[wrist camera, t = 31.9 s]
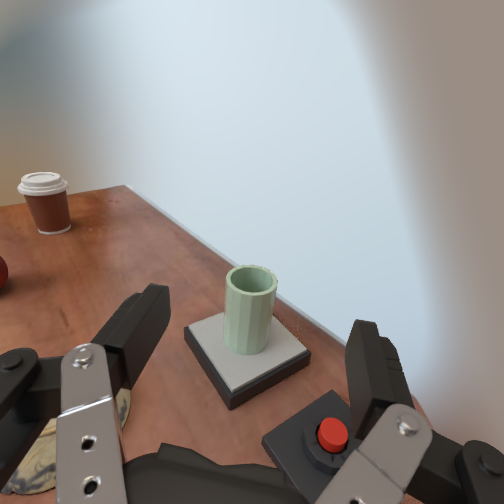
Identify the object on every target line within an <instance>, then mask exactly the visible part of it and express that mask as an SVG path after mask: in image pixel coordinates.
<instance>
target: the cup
mask: <svg viewBox="0 0 504 504" xmlns="http://www.w3.org/2000/svg"><path fill="white" fill-rule="evenodd" d="M277 283H278V280H277V278H276V276H275V274H273V273H272V272H271V271H270V270H268V269H266V268H263V267H261V266H255V265H242V266H238V267H235V268H233V269H232V270H231V271H229V272H228V274H227V276H226V286H225V306H224V326H223V339H224V342H225V344H226V346H227V347H228V348H229V349H230V350H232V351H233V352H235V353H238V354H242V355H253V354H257V353H259V352H261V351H262V350H263V349H264V348H265V347H266V346H267V344H268V340H269V334H270V328H271V321H272V315H273V309H274V302H275V296H276V290H277Z"/></svg>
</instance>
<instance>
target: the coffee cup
mask: <svg viewBox="0 0 504 504" xmlns="http://www.w3.org/2000/svg"><path fill="white" fill-rule="evenodd" d="M21 181H22V182H21V184H19V186H18V191H19V192H20V193H21V194H24V197H25V199H26V201H27V204H28V206H29V209H30V211H31V213H32V216H33V218H34V221H35V223H36V226H37V228H38V231H39V232H40V233H42V234H46V235H53V234H59V233H63V232H65V231H68V230H69V229H70V228H71V224H70V217H69V210H68V202H67V195H66V189H68V183H67V182H66V181H65V180H63V179H61V176H60V175H59V174H57V173H52V172H39V173H32V174H28V175H25V176H24V177H22V179H21Z"/></svg>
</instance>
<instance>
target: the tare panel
mask: <svg viewBox="0 0 504 504" xmlns="http://www.w3.org/2000/svg"><path fill="white" fill-rule="evenodd" d="M326 418H336V419H338V420H339V421H341V422H342V423H343V424H344V425H345V427H346V429H347V431H348V439H347V441H346V444H345V446H344V448H343V449H342V451H340V452H338V453H331V452H329V451H327V450H325V449H324V448H323V447H322V446H321V444H320V442H319V440H318V431H319V428H320V425H321V423H322V421H323V420H324V419H326ZM363 441H364V440H359V439H354V432H353V424H352V415H351V408H350V407H349V406H348V405H347V404H346V403H345V402H344V401H343V400H342V399H341V398H340V397H339V396H338V395H337V394H336V393H335V392H334V391H333V390H330V391H329V392H328V393H326V394H325V395H323V396H322V397H320V398H319V399H317V400H316V401H314V402H313V403H311V404H310V405H308V406H307V407H306V408H304V409H303V410H301V411H300V412H298V413H297V414H295V415H294V416H292V417H291V418H289V419H288V420H286V421H285V422H283V423H282V424H281V425H279V426H278V427H276V428H275V429H273V430H272V431H270V432H269V433H267V434H266V435H264V436H263V437H262V443H261V444H262V445H263V447H264V448H265V450H266V451H267V453H268V454H269V456H270V457H271V459H272V460H273V462H274V463H275V465H276V466H277V468H278V469H281V470H285V471H286V482H288V483H290V484H291V485H293V486H294V487H295V488H297V489H298V490H299V491H300V492H301V493H302V494H303V495H305V496H306V498H307V499H308V500H309V501H310V502H311V504H314V503H315V502H316V501H317V499H318V498H319V497H320V495H321V494H322V493H323V491H324V490H325V488H326V487H327V486H328V484H329V483H330V482H331V480H332V479H333V478H334V476H335V475H336V474H337V472H338V471H339V470H340V468H341V467H342V466H343V464H344V463H345V462H346V460H347V459H348V457H349V456H350V455H351V453H352V452H353V451H354V450H355V449H356V448H357V449H358V447H359V446H360V445H361V444H362V442H363Z"/></svg>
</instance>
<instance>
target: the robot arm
mask: <svg viewBox="0 0 504 504" xmlns="http://www.w3.org/2000/svg"><path fill="white" fill-rule="evenodd" d="M170 316H171V309H170V295H169V287H168V286H165V285H159V284H153V283H150V284H149V285H148V286H147V287H146V289H145V290H144V291H143V293H135V294H133V295H132V296H130V297H129V298H127V299H126V300H125V301H124V302H123V303H122V304H121V306H120V307H119V309H118V310H116V312H115V313H114V314H113V317H111V318H110V319H109V320H108V321H107V323H106V324H105V325H104V326H103V327H102V329H101V330H100V331H99V332H98V334H97V335H96V336H95V337H94V338H93V340H92V341H91V342H90V343H89V344H83V345H80V346H77V347H75V348H73V349H72V350H70V351H69V352H68V353H67V354H66V355H65V356H59V357H47V358H39V357H38V355H37V353H36V351H35V350H33V349H31V348H17V349H13V350H10V351H8V352H6V353H4V354H2V355H0V492H1V491H2V489H3V488H4V486H5V485H6V483H7V482H8V481H9V479H10V478H11V476H12V475H13V473H14V472H15V470H16V469H17V467H18V466H19V465H20V463H21V462H22V460H23V459H24V457H25V456H26V454H27V453H28V451H29V450H30V449H31V447H32V446H33V444H34V443H35V441H36V440H37V438H38V437H39V435H40V434H41V433H42V431H43V430H44V428H45V427H46V425H47V424H48V422H49V421H50V419H54V418H57V419H56V500H55V504H311V502H310V501H309V500H308V499H307V498H306V496H305V495H303V494H302V493H301V492H300V491H299V490H298V489H297V488H295V487H294V486H293V485H291V484H290V483H288V482H286V471H285V470H281V469H277V468H272V467H268V466H263V465H259V464H240V465H225V466H222V465H218V464H216V463H215V462H213V461H211V460H209V459H208V458H206V457H204V456H202V455H201V454H199V453H197V452H195V451H194V450H192V449H188V448H184V447H179V446H175V445H170V444H166V443H161V445H160V448H159V450H158V452H156V453H150V454H145V455H142V456H139V457H137V458H134V459H132V460H130V461H128V462H127V457H126V452H125V447H124V442H123V436H122V429H121V423H120V417H119V411H118V405H117V399H116V396H117V394H118V393H119V391H120V389H121V388H122V389H127V390H132V388H133V386H134V384H135V383H136V381H137V379H138V377H139V376H140V374H141V372H142V370H143V369H144V367H145V365H146V363H147V361H148V360H149V358H150V356H151V354H152V353H153V351H154V349H155V347H156V346H157V344H158V342H159V340H160V339H161V337H162V335H163V333H164V332H165V330H166V328H167V326H168V324H169V321H170ZM345 365H346V374H347V382H348V390H349V399H350V407H351V415H352V424H353V432H354V439H359V440H364V441H363V442H362V444H361V445H360V446H359V447H358V449H357V448H356V449H355V450H354V451H353V452H352V453H351V455H350V456H349V457H348V459H347V460H346V462H345V463H344V464H343V466H342V467H341V468H340V470H339V471H338V472H337V474H336V475H335V476H334V478H333V479H332V480H331V482H330V483H329V484H328V486H327V487H326V488H325V490H324V491H323V493H322V494H321V495H320V497H319V498H318V499H317V501H316V502H315V503H314V504H401V502H402V500H403V498H404V496H405V493H407V494H409V495H411V496H412V497H414V498H416V499H417V500H419V501H421V502H423V503H424V504H504V455H503V454H502V453H501V452H500V451H499V450H497V449H496V448H494V447H493V446H491V445H489V444H487V443H485V442H482V441H477V440H472V441H468V442H467V443H465V445H464V446H462V445H460V444H458V443H456V442H454V441H452V440H450V439H447V438H446V437H444V436H441V435H440V434H438V433H436V432H435V431H433V430H432V429H431V427H430V425H429V423H428V422H427V420H426V419H425V418H424V417H423V416H422V415H421V414H420V413H419V412H418V411H416V410H415V408H414V405H413V401H412V398H411V395H410V392H409V389H408V385H407V382H406V379H405V376H404V373H403V372H402V366H401V363H400V362H399V356H398V353H397V350H396V348H395V347H394V345H393V344H392V343H391V341H390V340H389V339H388V338H386V337H380V336H379V333H378V329H377V325H376V323H375V322H370V321H364V320H358V319H357V320H355V322H354V324H353V327H352V330H351V333H350V336H349V339H348V342H347V345H346V349H345Z"/></svg>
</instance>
